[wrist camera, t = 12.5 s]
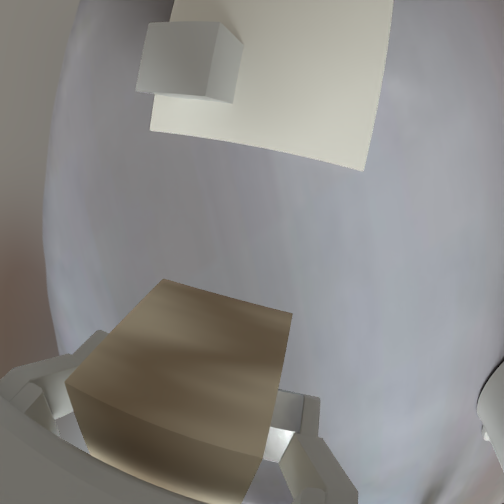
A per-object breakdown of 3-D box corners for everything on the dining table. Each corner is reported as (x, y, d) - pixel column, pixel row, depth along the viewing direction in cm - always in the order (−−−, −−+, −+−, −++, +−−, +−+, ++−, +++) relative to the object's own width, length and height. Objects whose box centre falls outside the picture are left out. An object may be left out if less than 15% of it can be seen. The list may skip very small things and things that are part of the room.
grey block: (243, 45, 19) (220, 21, 14) (232, 103, 21) (205, 96, 16) (185, 42, 20) (149, 22, 14) (174, 97, 21) (135, 91, 16)
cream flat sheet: (398, -73, 12) (398, -75, 12) (362, 171, 21) (363, 171, 21) (205, -91, 14) (204, -93, 14) (150, 130, 23) (149, 130, 23)
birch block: (292, 313, 10) (263, 458, 5) (264, 402, 12) (232, 520, 7) (163, 278, 11) (64, 381, 6) (160, 370, 13) (97, 469, 7)
